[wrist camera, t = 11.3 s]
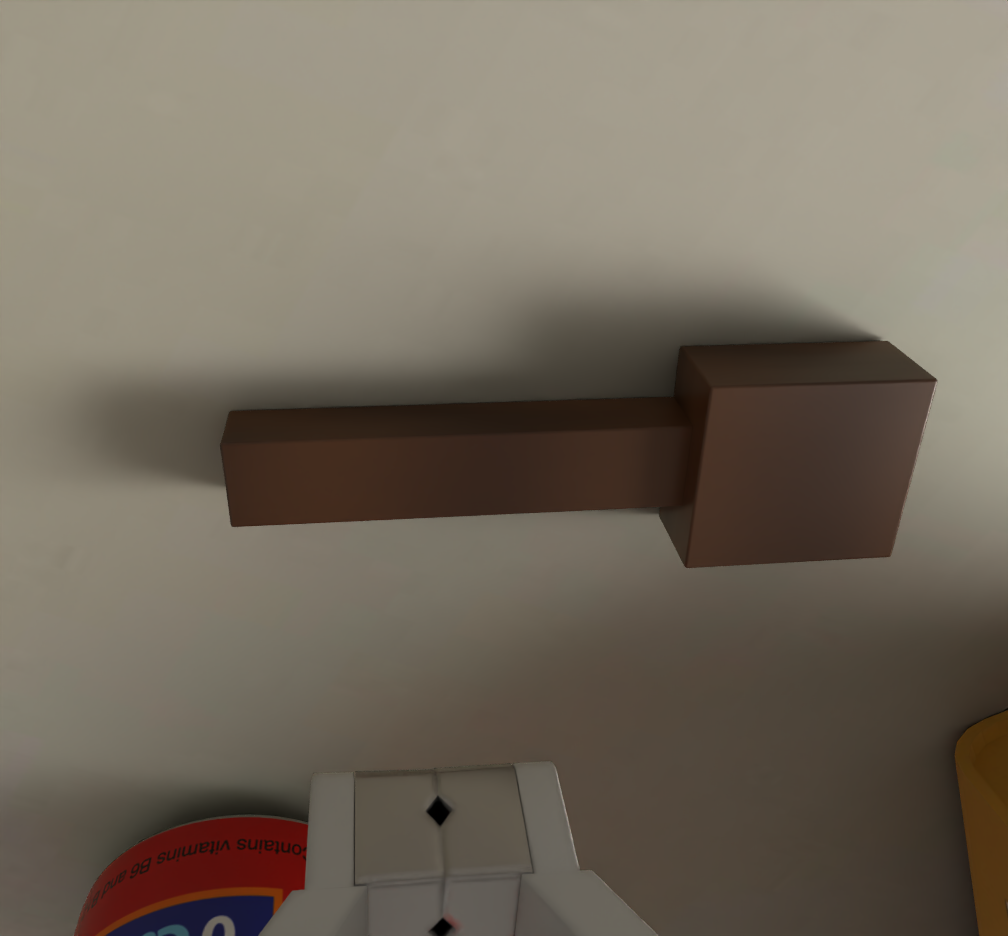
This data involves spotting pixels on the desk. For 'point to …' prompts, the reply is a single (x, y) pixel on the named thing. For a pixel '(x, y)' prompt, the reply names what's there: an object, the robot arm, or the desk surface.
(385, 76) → the desk surface
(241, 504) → the wooden mallet
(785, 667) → the desk surface
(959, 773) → the flared yellow plastic housing
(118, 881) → the soda can
